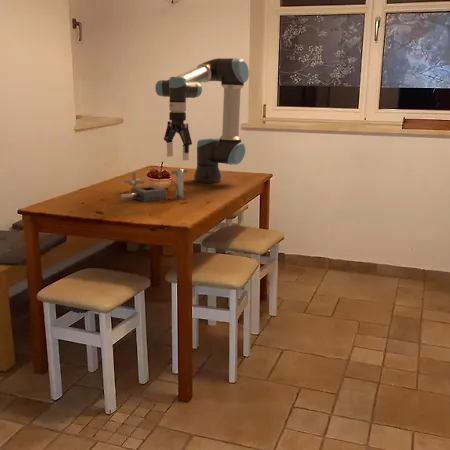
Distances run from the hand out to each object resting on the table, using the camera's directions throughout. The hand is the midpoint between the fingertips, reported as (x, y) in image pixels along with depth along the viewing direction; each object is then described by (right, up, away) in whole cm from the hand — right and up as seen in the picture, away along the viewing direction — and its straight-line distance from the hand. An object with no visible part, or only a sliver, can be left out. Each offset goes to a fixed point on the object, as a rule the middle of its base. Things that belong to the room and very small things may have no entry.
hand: (177, 158), depth 275 cm
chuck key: (+1, -18, +5) cm, 19 cm away
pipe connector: (-23, -15, +18) cm, 32 cm away
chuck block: (-17, -19, +1) cm, 26 cm away
